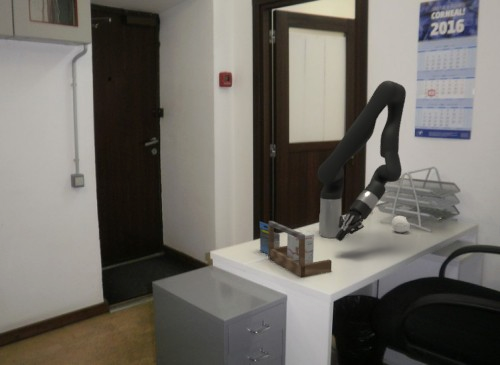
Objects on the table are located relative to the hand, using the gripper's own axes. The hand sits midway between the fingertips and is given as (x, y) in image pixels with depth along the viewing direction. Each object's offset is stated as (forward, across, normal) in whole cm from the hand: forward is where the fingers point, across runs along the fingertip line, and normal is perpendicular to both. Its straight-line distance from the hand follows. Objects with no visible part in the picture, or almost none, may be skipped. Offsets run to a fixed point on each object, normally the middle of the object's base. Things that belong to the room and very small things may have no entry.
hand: (338, 239), depth 175 cm
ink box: (+17, 0, -7) cm, 18 cm away
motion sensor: (-28, -16, +38) cm, 50 cm away
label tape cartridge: (+19, -18, -9) cm, 28 cm away
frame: (+17, 0, -7) cm, 18 cm away
